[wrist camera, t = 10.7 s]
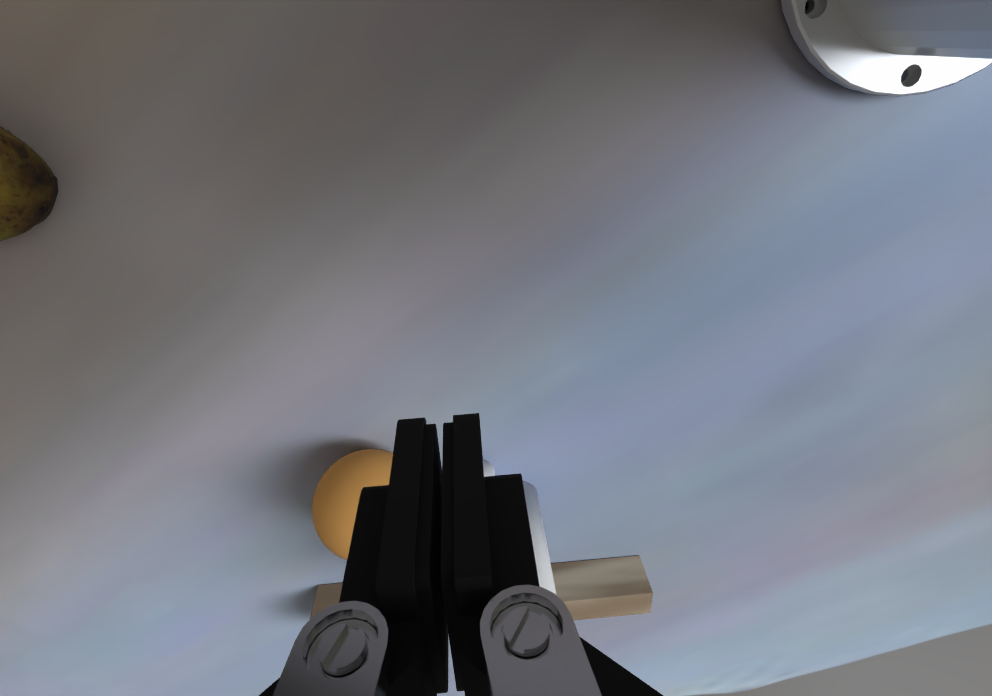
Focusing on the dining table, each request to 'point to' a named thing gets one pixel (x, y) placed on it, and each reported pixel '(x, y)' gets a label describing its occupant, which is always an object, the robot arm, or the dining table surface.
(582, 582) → the bar
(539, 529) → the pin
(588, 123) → the dining table surface
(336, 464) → the ball
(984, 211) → the dining table surface
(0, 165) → the potato
